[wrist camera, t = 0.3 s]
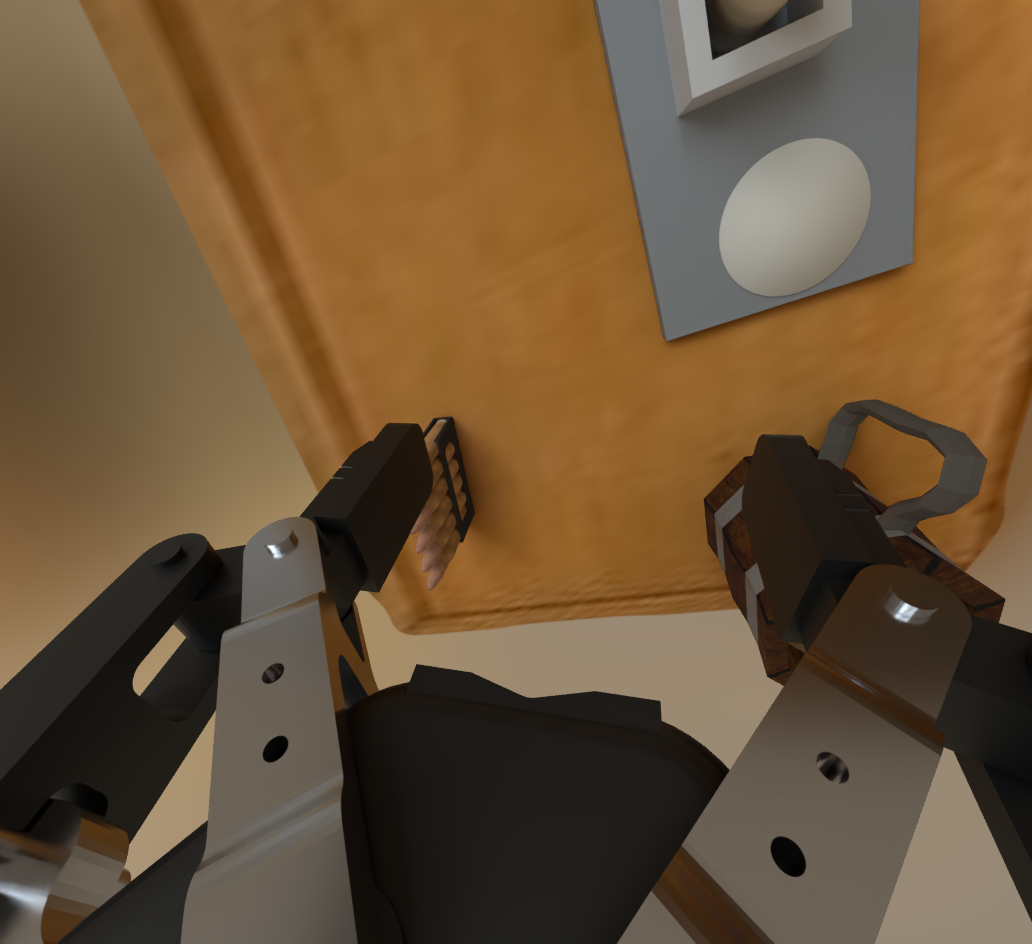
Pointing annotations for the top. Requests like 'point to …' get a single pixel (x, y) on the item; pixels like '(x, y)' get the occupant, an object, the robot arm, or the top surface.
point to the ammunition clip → (443, 501)
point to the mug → (896, 520)
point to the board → (765, 150)
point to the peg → (738, 21)
